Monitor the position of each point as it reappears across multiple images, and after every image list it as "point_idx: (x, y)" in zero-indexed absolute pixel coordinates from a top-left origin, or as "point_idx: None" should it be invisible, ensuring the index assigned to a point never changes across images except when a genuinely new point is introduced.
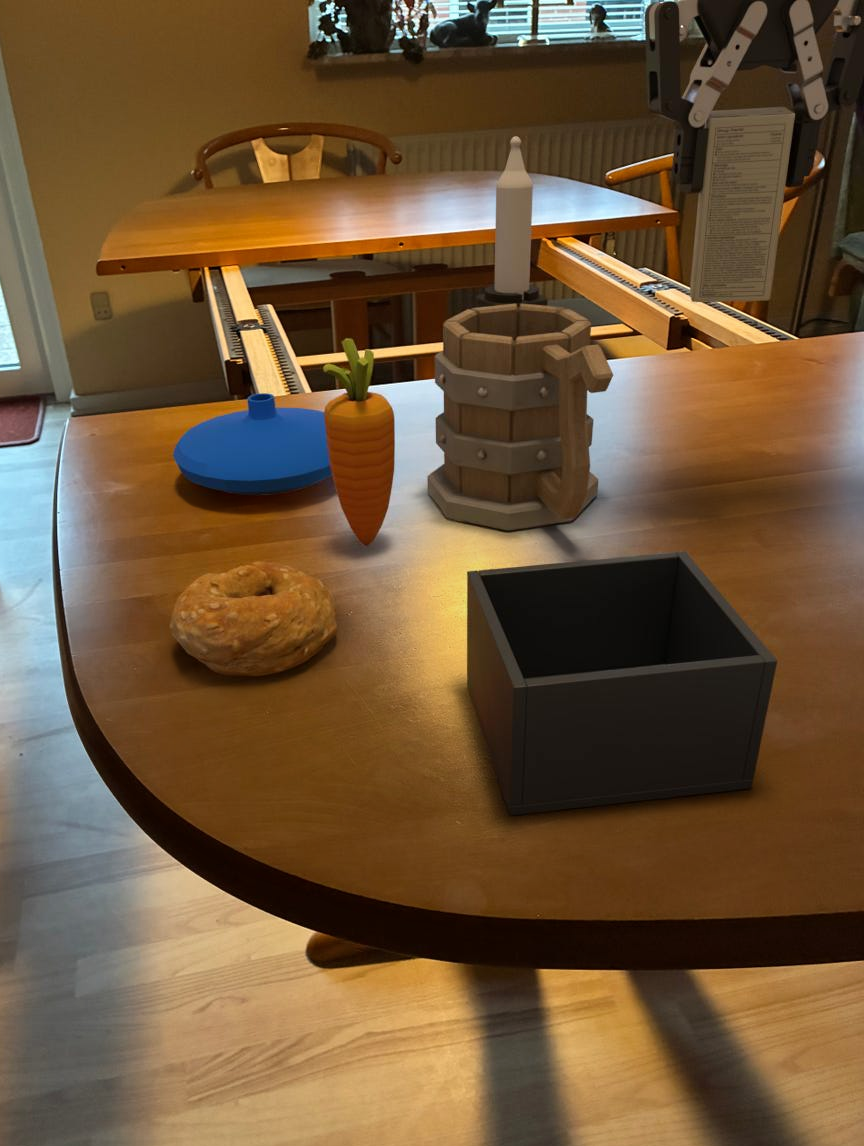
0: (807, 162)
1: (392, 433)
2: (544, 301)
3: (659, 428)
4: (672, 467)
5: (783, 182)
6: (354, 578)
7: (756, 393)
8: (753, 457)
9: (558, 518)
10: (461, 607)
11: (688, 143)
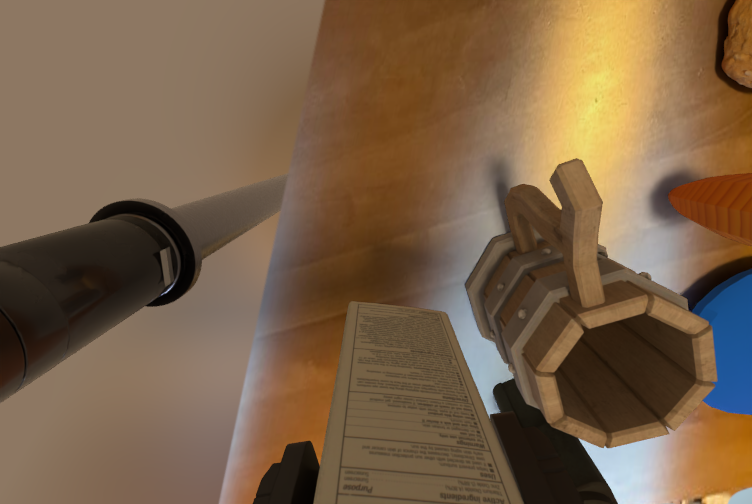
0: (272, 486)
1: (741, 206)
2: None
3: None
4: None
5: (336, 400)
6: (688, 134)
7: None
8: (326, 356)
9: (506, 234)
10: (605, 85)
11: (567, 500)
